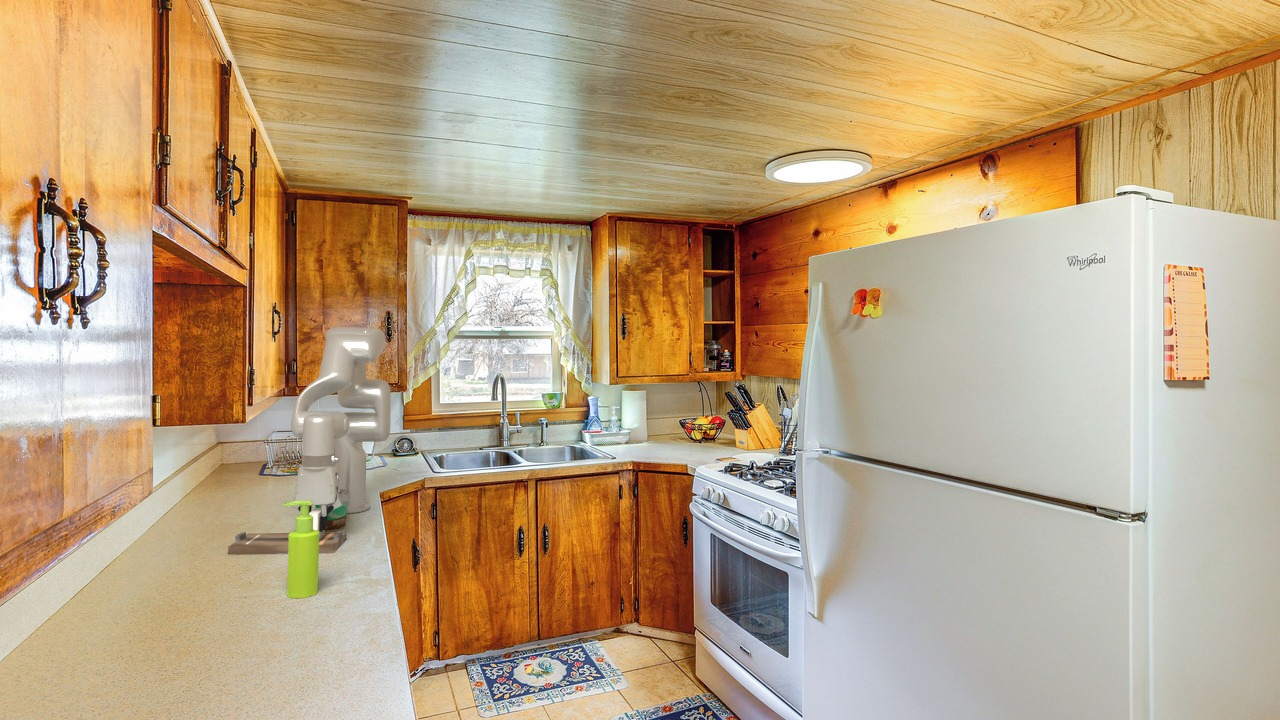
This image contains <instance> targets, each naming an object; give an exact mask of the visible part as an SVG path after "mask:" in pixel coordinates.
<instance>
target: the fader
mask: <svg viewBox="0 0 1280 720" xmlns="http://www.w3.org/2000/svg"><path fill="white" fill-rule="evenodd" d="M309 514H310V515H312V516H313V530H317V531H319V518H320V517H321V514H322V509H321V508H314V509H312V511H311V512H310V513H309ZM325 533H326V531H322V532H320V531H319V540H320V539H321V538H322V537H323V536H325Z"/></svg>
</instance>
